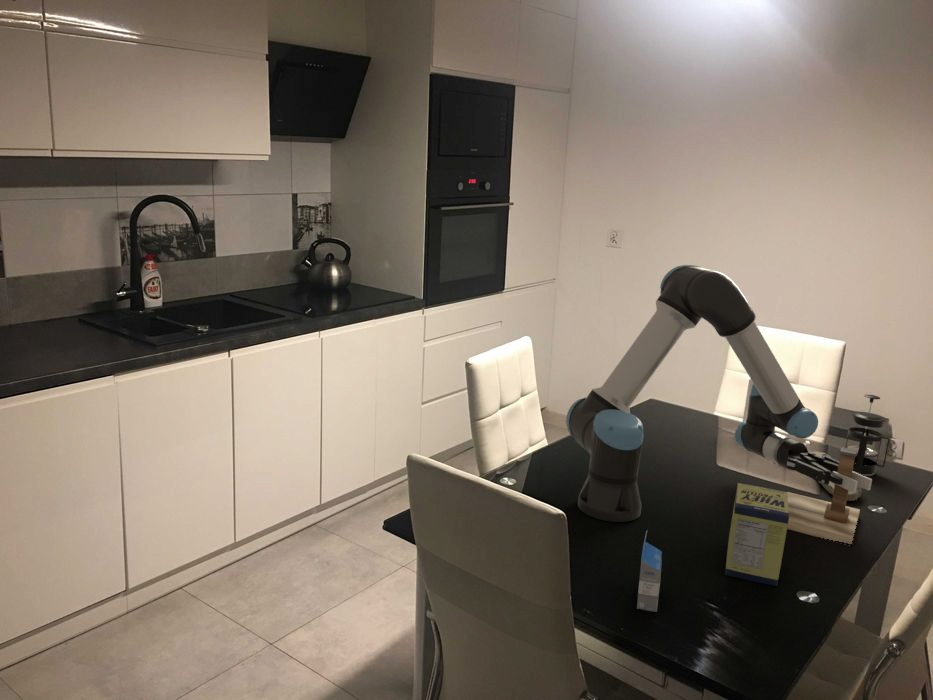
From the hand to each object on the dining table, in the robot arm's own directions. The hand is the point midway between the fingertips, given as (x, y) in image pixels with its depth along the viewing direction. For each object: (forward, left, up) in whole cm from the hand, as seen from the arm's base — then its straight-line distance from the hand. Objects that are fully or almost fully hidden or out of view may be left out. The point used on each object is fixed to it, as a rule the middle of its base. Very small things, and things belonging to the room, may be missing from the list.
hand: (862, 485), depth 186 cm
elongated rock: (+38, +9, -13) cm, 41 cm away
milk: (+61, +34, -13) cm, 71 cm away
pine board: (+3, +10, -13) cm, 17 cm away
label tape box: (-60, +31, -13) cm, 69 cm away
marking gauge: (+3, +4, -10) cm, 12 cm away
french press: (+51, +2, -13) cm, 53 cm away
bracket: (+49, +21, -13) cm, 55 cm away
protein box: (-32, +17, -13) cm, 39 cm away
